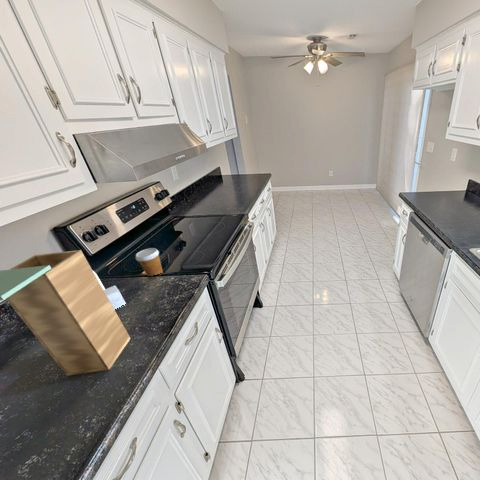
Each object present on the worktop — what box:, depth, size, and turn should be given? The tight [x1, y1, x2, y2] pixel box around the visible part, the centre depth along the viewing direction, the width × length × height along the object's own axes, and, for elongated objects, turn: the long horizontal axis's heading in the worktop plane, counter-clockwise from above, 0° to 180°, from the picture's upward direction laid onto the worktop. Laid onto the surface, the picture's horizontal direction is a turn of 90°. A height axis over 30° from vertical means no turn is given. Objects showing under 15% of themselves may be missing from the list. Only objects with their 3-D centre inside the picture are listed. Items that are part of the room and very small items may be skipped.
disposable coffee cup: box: [135, 247, 163, 277], centre depth 121 cm, size 10×10×12 cm
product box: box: [104, 285, 127, 311], centre depth 102 cm, size 6×6×7 cm
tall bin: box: [5, 249, 131, 377], centre depth 73 cm, size 12×12×35 cm
